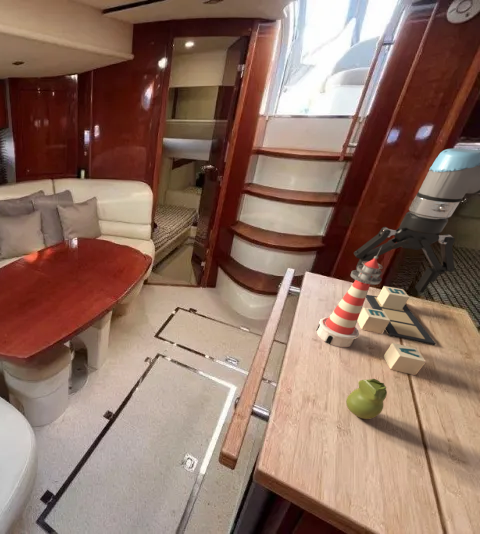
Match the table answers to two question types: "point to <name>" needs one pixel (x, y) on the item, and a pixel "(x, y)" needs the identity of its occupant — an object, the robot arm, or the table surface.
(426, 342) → the word mat
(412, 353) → the cream letter cube
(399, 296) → the letter S
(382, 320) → the letter E
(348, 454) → the table surface
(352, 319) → the miniature lighthouse
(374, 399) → the green rounded piece
